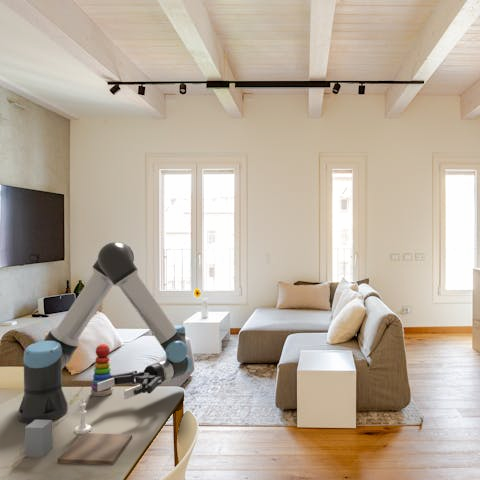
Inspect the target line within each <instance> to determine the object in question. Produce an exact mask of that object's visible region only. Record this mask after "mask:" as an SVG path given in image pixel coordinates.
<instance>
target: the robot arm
mask: <svg viewBox="0 0 480 480" xmlns="http://www.w3.org/2000/svg"><path fill="white" fill-rule="evenodd" d="M134 261H135V256H134V252H133V250H132V248H131V247H130V246H129V245H127V244H126V243H124V242H122V241H115V242H108V243H106V244H105V245H103V246H102V247H101V248H100V250H99V252H98V254H97V259H96V261H95V262H94V264H93V266H92V271H93V273H92V275H91V276H90V277H89V279H88V281H87V282H86V283H85V285H84V287H83V288H82V290H81V291H80V293H79V294H78V295H77V297H76V298H75V300H74V301H73V303H72V304H71V306H70V307H69V310H68V311H67V313H66V314H65V315H64V317H63V318H62V320H61V322H60V323H59V324H58V326H57V327H53V328H51V329H50V330H49V331H48V334H47V335H46V336H45V338H44V339H43V340H42V341H37V342H35V343H32V344H29V345H28V346H27V347H25V349H24V351H23V358H22V360H23V397H22V399H21V402H20V406H19V408H18V411H17V412H18V417H17V419H18V420H19V422H22V423H26V424H30V423H32V422H33V421H34V420H52V421H54V420H56V419H59V418H61V417H63V416H65V415H66V414H67V413H68V409H69V408H68V401H67V399H66V395H65V393H64V390H63V384H62V383H63V376H62V375H63V373H62V372H63V369H64V368H65V367H66V365H67V364H68V363H69V362H70V361H71V359H72V358H73V355H74V354H75V351H76V350H77V349H78V347H79V345H80V341H79V338H80V337H81V335H82V333H83V332H84V331H85V329H86V327H87V326H88V325H89V323H90V321H91V320H92V318H93V317H94V316H95V315H96V312H97V310H98V309H99V308H100V306H101V304H102V303H103V302H104V300H105V298H106V296H107V295H108V294H109V292H110V291H111V289H112V287H113V286H114V287H115V286H116V287H118V288H119V289H120V290H121V291H122V293H123V295H124V296H125V297H126V299H127V300H128V301H129V303H130V304H131V306H132V307H133V309H134V310H135V311H136V312H137V314H138V315H139V317H140V318H141V319H142V321H143V322H144V324H145V325H146V327H148V329H149V331H150V332H151V333H152V335H153V337H155V339H156V341H157V342H158V344H159V345H160V347H161V348H162V349H163V351H164V352H165V356H166V359H163V360H160V361H158V362H155V363H153V364H152V363H151V364H150V365H147V366H146V367H145V368H144V370H143V371H140V372H138V370H133V371H130V372H124V373H119V374H111V376H110V379H108V380H105V381H102V382H99V383H97V391H102V390H105V389H107V388H110V387H112V388H114V387H115V386H116V385H122V384H132V385H135V384H138V385H135V386H132V387H129V388H128V389H124V390H123V399H124V400H127V399H130V398H132V397H135V396H137V395H139V394H145V393H146V394H151V393H153V391H154V390H155V389H156V388H157V387H158V386H160V385H162V383H163V384H165V383H166V382H167V381H170V380H172V379H175V378H177V377H181V376H183V375H185V374H186V373H187V374H188V373H189V372H190V371H191V369H192V366H193V361H192V360H191V356H189V354H188V351H189V349H188V345H187V341H186V340H187V339H186V328H185V326H183V325H182V324H181V325H180V324H176V325H175V324H174V325H173V323H172V321H171V320H170V319H169V318H168V316H167V315H166V313H165V311H164V309H162V307H161V306H160V304H159V302H157V300H156V299H155V298H154V296H153V295H152V293H151V291H150V290H149V289H148V287H147V286H146V284H145V283H144V281H143V280H142V279H141V278H140V276H139V274H138V271H139V270H138V267H137V266H136V265H135V263H134Z"/></svg>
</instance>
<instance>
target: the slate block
mask: <svg viewBox="0 0 480 480" xmlns="http://www.w3.org/2000/svg"><path fill="white" fill-rule="evenodd" d="M53 448H54V447H53V420H34V421H33V422H32V423H28V425H26V426H25V427H24V457H25V458H44V457H45V456H46V455H48V453H50V452H51V450H52V449H53Z"/></svg>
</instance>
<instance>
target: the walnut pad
mask: <svg viewBox="0 0 480 480" xmlns="http://www.w3.org/2000/svg"><path fill="white" fill-rule="evenodd" d="M132 439H133V434H127V433H125V434H124V433H122V434H121V433H95V432H94V433H91V432H87V433H83V434H80V436H79V437H78V438H77V439H76V440H75V441H74V442H73V443H72V444H70V446H69V447H68V448H67V449H66V450H64V452H63V453H62V454H61V455H60V456H59V457H58V458H57V464H77V463H84V464H83V465H106V466H107V465H109V466H110V465H111V466H113V465H114V464H115V463H116V462H117V460H118V458H119V457H120V456H121V455H122V453H123V451H124V450H125V449H126V447H127V446H128V444H129V443H130V442H131V440H132Z"/></svg>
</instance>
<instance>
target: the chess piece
mask: <svg viewBox="0 0 480 480" xmlns="http://www.w3.org/2000/svg"><path fill="white" fill-rule="evenodd" d="M80 402H81V403H80V404H79V405H78V407H79V409H80V410H79V413H78V414H80V421H79V424H78V425H77V426H76V427H74V430H73V431H74V434H76V435H77V434H78V435H82V434H83V433H90V431H91V430H92V426H91V424H87V422H86V415H85V414H87V410H86V407H87V403H85V402H86V401H85V399H84V397H81V399H80Z"/></svg>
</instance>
